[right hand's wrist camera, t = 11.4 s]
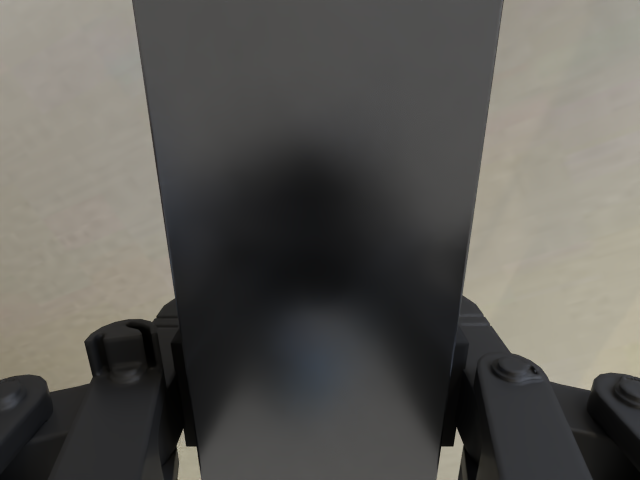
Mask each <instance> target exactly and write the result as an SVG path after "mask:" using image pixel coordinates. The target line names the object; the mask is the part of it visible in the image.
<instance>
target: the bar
mask: <svg viewBox="0 0 640 480" xmlns="http://www.w3.org/2000/svg"><path fill="white" fill-rule="evenodd" d="M503 1H504V0H132V3H133V9H134V16H135V23H136V30H137V37H138V44H139V51H140V58H141V65H142V72H143V79H144V86H145V92H146V99H147V106H148V113H149V120H150V127H151V134H152V141H153V148H154V155H155V162H156V168H157V175H158V182H159V189H160V196H161V203H162V210H163V217H164V224H165V231H166V238H167V245H168V251H169V258H170V265H171V272H172V279H173V286H174V293H175V300H176V307H177V314H178V321H179V328H180V334H181V341H182V348H183V355H184V362H185V369H186V376H187V383H188V390H189V397H190V404H191V411H192V417H193V424H194V431H195V438H196V445H197V452H198V459H199V466H200V473H201V480H436V479H437V472H438V465H439V458H440V451H441V443H442V436H443V429H444V422H445V415H446V408H447V401H448V393H449V386H450V379H451V372H452V365H453V358H454V351H455V344H456V336H457V329H458V322H459V315H460V308H461V301H462V294H463V287H464V279H465V272H466V265H467V258H468V251H469V244H470V237H471V229H472V222H473V215H474V208H475V201H476V194H477V187H478V180H479V172H480V165H481V158H482V151H483V144H484V137H485V130H486V123H487V115H488V108H489V101H490V94H491V87H492V80H493V73H494V65H495V58H496V51H497V44H498V37H499V30H500V23H501V16H502V8H503Z"/></svg>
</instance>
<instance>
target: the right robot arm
mask: <svg viewBox="0 0 640 480" xmlns="http://www.w3.org/2000/svg"><path fill="white" fill-rule="evenodd" d="M84 342H85V347H86V351H87V355H88V359H89V363H90V367H91V371H92V375H93V378H92V380H91V382H90V383H89V384H85V385H82V386H78V387H73V388H68V389H63V390H59V391H54V392H49V389H48V386H47V382H46V381H45V380H44V379H43V378H42V377H40V376H35V375H21V376H14V377H9V378H7V379H6V378H5V379H2V380H0V480H177V477H178V468H179V459H178V452H177V446H176V445H177V443H178V440H179V438H180V435H181V433H182V430H183V428H184V435H185V441H186V446H197V445H196V438H195V431H194V424H193V417H192V411H191V404H190V397H189V390H188V383H187V376H186V369H185V362H184V355H183V348H182V341H181V334H180V328H179V321H178V314H177V307H176V300H175V299H173V300H172V301H170V302H169V303H167V304H166V305H164V306H163V308H162V309H161V311H160V312H159V314H158V315H157V318H155V319H154V321H153V322H151V321H147V320H143V319H128V320H123V321H118V322H114V323H111V324H109V325H106V326H103V327H101V328H100V329H98V330H96V331H95V332H93V333H92V334H90V336H89V337H88V338H87V339H86V340H85V341H84ZM456 427H457V429H458V431H459V434H460V436H461V439H462V441H463V444H464V446H463V452H462V458H461V464H460V470H459V476H458V480H640V378H638V377H633V376H631V375H626V374H618V373H606V374H600V375H599V376H598V377H596V378H595V379H594V381H593V385H592V388H591V391H590V390H585V389H580V388H575V387H571V386H566V385H561V384H557V383H554V382H550V381H549V379H548V377H547V375H546V374H545V373H544V371H543V370H542V369H541V368H540V367H539V366H538V365H536V364H535V363H533V362H532V361H531V360H528V359H526V358H524V357H522V356H519V355H516V354H512V353H510V351H509V350H508V348H507V347H506V346H505V344H504V343H503V342H502V340H501V339H500V337H499V336H498V335H497V333H496V332H495V330H494V329H493V328H492V326H490V323H489V322H488V321H487V319H486V318H485V317H484V316H483V314H482V312H481V311H480V309H479V308H478V307H477V305H476V304H475V303H473V302H472V301H470V300H469V299H467V298H466V297H464V296H463V295H462V301H461V308H460V315H459V322H458V329H457V336H456V344H455V351H454V358H453V365H452V372H451V379H450V386H449V393H448V401H447V408H446V415H445V422H444V429H443V436H442V443H441V446H454V439H455V433H456Z"/></svg>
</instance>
